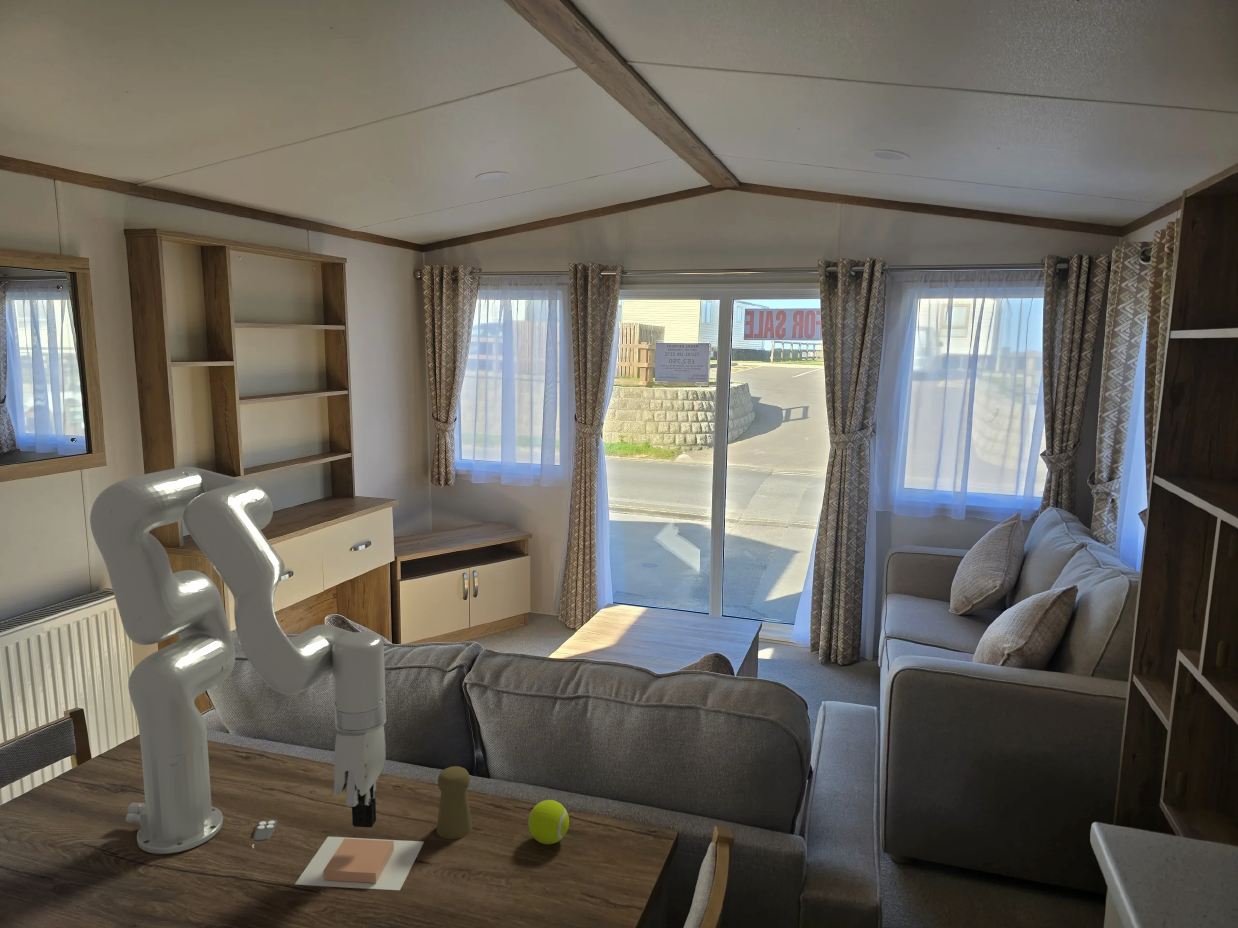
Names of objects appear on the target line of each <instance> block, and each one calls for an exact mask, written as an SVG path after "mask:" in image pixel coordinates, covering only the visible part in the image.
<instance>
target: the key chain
mask: <svg viewBox="0 0 1238 928" xmlns="http://www.w3.org/2000/svg"><path fill="white" fill-rule="evenodd" d="M277 825H278V820H277V819H276V818H275V819H274V818H272V819H262V820H260V821H258V822H257V823H256V825H255V829H254V833H253V837H252V839H253V841H254V842H259V841H260V842H261V841H268V840H270V839H271V837H272V836H273V833H274V831H275V830H276V827H277ZM254 846H255V844H254V843H253V844H252V845H251V848H252V849H255V847H254Z"/></svg>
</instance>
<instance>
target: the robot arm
mask: <svg viewBox="0 0 1238 928" xmlns="http://www.w3.org/2000/svg"><path fill="white" fill-rule="evenodd" d="M273 513H274V507H273V503H272V500H271V498H270V496H269V495H268V493H266V491H265V490H264V489H263V488H262V487H260V486H259V485H257V484H255V483H253V482H250V481H248V480H244V479H241V478H237V477H234V476H230V475H228V474H227V475H226V474H223V473H218V472H214V471H211V470H207V469H203V468H199V467H192V466H183V467H182V466H181V467H180V466H179V467H175V468H170V469H166V470H165V469H164V470H160V471H155V472H154V471H153V472H150V473H149V472H148V473H144V474H140V475H139V474H138V475H136V476H132V477H128V478H125V479H121V480H119V481H117V482H114V483H113V484H111V485H109V486H107V487H106V488H105V489H103V490H102V491H101V492H100V493H99V495H98V496H97V497H96V499H95V500H94V502H93V503H92V507H91V510H90V515H89V516H90V517H89V523H90V529H91V533H92V537H93V539H94V541H95V543H96V546H97V548H98V550H99V552H100V554H101V556H102V559H103V561H104V563H105V566H106V569H107V571H108V575H109V576H108V577H109V580H110V584H111V588H112V592H113V595H114V600H115V603H116V606H117V610H118V614H119V617H120V620H121V623H122V626H123V629H124V632H125V634H126V636H127V637H128V638H129V639H130V640H131V642H133V643H135V644H137V645H141V646H150V645H155V644H158V643H161V642H163V641H165V640H169V639H170V638H172V637H175V636H177V635H178V637H179V640H177V641H175V642H173V643H171V644H169V645H166V646H164V647H163V648H160V649H159V650H156V651H155V652H152V653H151V654H149V655H148V656H146V657H144V658H143V659H142V660H141V661H140V662H139V663H137V664H136V666H135V667H134V668H133V670H132V671H131V673H130V676H129V679H128V684H127V686H128V692H129V697H130V700H131V703H132V706H133V709H134V712H135V717H136V720H137V721H136V722H137V725H138V731H139V733H138V734H139V742H140V751H141V764H142V765H141V766H142V777H143V790H144V791H143V792H144V801H145V802H131V803H129V805H128V807H127V814H126V817H125V822H126V823H132V824H133V823H138V824H139V825H140V828H139V829H138V831H137V834H136V841H137V845H138V847H139V849H141V850H143V851H145V852H146V853H151V854H155V855H165V854H166V855H168V854H175V853H179V852H180V853H181V852H183V851H188V850H190V849H193V848H196V847H198V846H201V845H202V844H204V843H206V842H208V841H209V840H211V839H212V838H213V837H214V836H216V835H217V834H218V833H219V831H220V830H221V829H222V826H223V824H224V816H223V813H222V812H221V810H220V809H219V808H217V807H215V806H213V805H212V792H211V777H210V759H209V751H208V750H209V748H208V746H209V744H208V734H207V733H208V732H207V725H206V721H205V718H204V716H203V715H202V713H201V712H200V711H199V709H198V708H197V706H196V704H195V701H196V698H198V697H199V696H200V695H202V694H203V693H205V692H207V691H209V689H211V688H213V687H215V686H216V685H218V684H220V683H221V682H222V681H224V680H225V679H226V678H227V677H229V675H230V674H231V673H232V671H233V669H234V667H235V663H236V651H235V646H234V645H235V644H234V642H233V641H234V640H233V638H232V633H231V630H230V626H229V623H228V618H227V615H226V611H225V606H224V603H223V599H222V596H221V593H220V590H219V589H218V587H217V585H216V584H215V583H214V581H213V580H212V579H211V578H210V576H207V575H206V574H205V573H203V572H201V571H198V570H194V569H187V570H180V571H176V572H173V569H172V567H171V563H170V558H169V555H168V553H167V551H166V548H165V547H164V545H163V544H162V543H161V542H160V541H159V539H157V537H156V536H154V535H153V534H152V533H150V532H151V531H152V530H153V529H156V528H159V527H163V526H166V525H170V524H174V523H177V522H181V521H183V524H184V526H185V528H186V531H187V532H188V534H189V535H190V537H191V538H192V539H193V541H194V542H195V544H196V545H197V546H198V548H199V549H200V551H201V552H202V554H203V555H204V556H205V558H206V559H207V560H208V562H209V563H210V564H211V566H212V567H213V569H214V570H215V572H216V573H217V575H218V576H219V577H220V578H221V580H222V581H223V583H224V584H225V585H226V587H227V588H228V589H229V591H230V593H231V595H232V596H233V600H234V602H233V603H234V609H233V611H234V612H233V613H234V615H233V616H234V623H235V624H234V625H235V629H236V635H237V640H238V642H239V646H240V647H241V651H242V652H243V654H244V655H245V657H246V659H247V660H248V662H249V663H250V664H251V666H252V667H253V668H254V670H255V671H256V672H257V675H259V677H260V678H261V679H262V680H263V681H264V682H265V683H266V685H267V686H268V687H269V688H271V689H272V690H274V691H275V692H276V693H278V694H281V695H285V696H294V695H299V694H300V693H303V692H305V691H307V690H308V689H309V688H311V687H312V686H314V685H315V684H316V683H318V682H320V680H322V679H323V678H325V677H328V676H330V675H332V680H333V681H332V682H333V685H332V686H333V705H334V725H335V726H334V727H335V729H336V730H337V731H336V737H335V745H334V759H333V761H334V763H333V789H334V794H335V795H336V796H337V795H341V794H342V792H343V791H344V790H345V789H346V798H345V799H346V800H345V806H346V807H351V813H352V814H351V817H352V818H351V819H352V826H353V827H356V828H373V826H374V825H375V823H376V822H377V807H376V806H377V803H376V798H375V797H376V794H377V780H378V778H379V776H380V774H381V773H382V771H383V769H384V768H385V766H386V756H387V754H386V736H385V724H386V722H387V705H386V704H387V703H386V701H387V700H386V672H385V646H384V640H383V638H382V637H381V636H380V635H378V634H377V633H374V632H369V631H354V632H352V631H350V630H347V629H344V628H341V627H337V626H334V625H330V624H319V625H318V624H317V625H315V626H312V627H309V628H308V629H307V630H305V631H303V632H301V633H300V634H298V635H296V636H295V637H293V638H292V639H290V638H289V637H288V636H287V635H286V633H285V632H284V630H283V628H282V627H281V625H280V623H279V621H278V619H277V615H276V612H275V606H274V605H275V604H274V602H275V601H274V599H275V594H276V590H277V588H278V585H279V582H280V580H281V578H282V576H283V575H284V572H285V569H286V568H285V562H284V560H283V559H282V557H281V556H280V555H279V554H278V552H277V551H276V550H275V548H274V547H273V546H272V544H271V543H270V541H269V540H268V539H267V537H266V536H265V534H264V533H263V531H262V530H263V529H265V528H266V527H267V526H268V525H270V522H271V521H272V519H273Z"/></svg>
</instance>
